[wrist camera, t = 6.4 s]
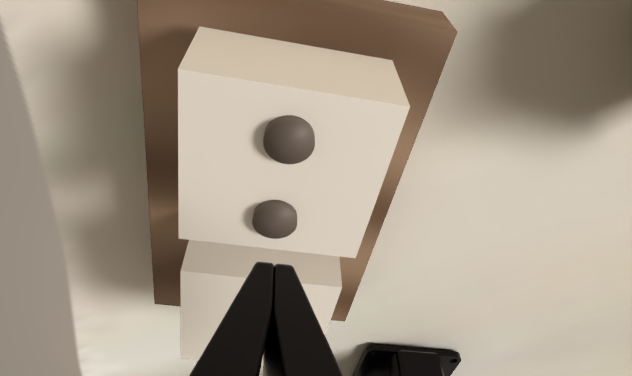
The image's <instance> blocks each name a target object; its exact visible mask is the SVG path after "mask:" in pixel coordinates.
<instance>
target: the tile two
mask: <svg viewBox="0 0 632 376" xmlns="http://www.w3.org/2000/svg"><path fill="white" fill-rule="evenodd" d="M409 108H410V105H409V102H408V99H407V97H406V94H405V92H404V89H403V86H402V84H401V81H400V79H399V76H398V74H397V71H396V68H395V66H394V63H393V61H392V60H388V59H382V58H377V57H371V56H365V55H360V54H354V53H348V52H343V51H337V50H331V49H326V48H320V47H314V46H308V45H303V44H297V43H291V42H286V41H280V40H274V39H269V38H263V37H257V36H252V35H246V34H240V33H235V32H229V31H223V30H217V29H212V28H206V27H200V26H199V28H198V30H197V32H196V34H195V36H194V38H193V40H192V42H191V44H190V46H189V48H188V50H187V52H186V54H185V56H184V58H183V60H182V62H181V64H180V66H179V68H178V229H179V239H187V240H196V241H205V242H214V243H223V244H232V245H241V246H250V247H259V248H268V249H277V250H285V251H294V252H303V253H312V254H321V255H330V256H339V257H348V258H356V256H357V253H358V250H359V247H360V245H361V242H362V239H363V236H364V234H365V231H366V228H367V225H368V222H369V220H370V217H371V214H372V211H373V209H374V206H375V203H376V200H377V197H378V195H379V192H380V189H381V186H382V184H383V181H384V178H385V175H386V172H387V170H388V167H389V164H390V161H391V158H392V156H393V153H394V150H395V147H396V145H397V142H398V139H399V136H400V133H401V131H402V128H403V125H404V122H405V120H406V117H407V114H408V111H409Z"/></svg>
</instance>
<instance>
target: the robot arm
mask: <svg viewBox="0 0 632 376" xmlns="http://www.w3.org/2000/svg"><path fill="white" fill-rule="evenodd" d="M262 359H263V376H343V374H342V372H341V370H340V368H339V366H338V363H337V361H336V359H335V357H334V355H333V352H332V350H331V348H330V346H329V344H328V341H327V339H326V337H325V335H324V333H323V330H322V328H321V326H320V324H319V322H318V319H317V317H316V315H315V313H314V311H313V308H312V306H311V304H310V302H309V300H308V297H307V295H306V293H305V291H304V289H303V287H302V284H301V282H300V280H299V278H298V276H297V273H296V271H295V269H294V267H293V266H292V265H287V264H275V266H274V264H273V263H268V262H256V263H255V265H254V266H253V268H252V270H251V271H250V273H249V275H248V277H247V278H246V280H245V282H244V283H243V285H242V287H241V288H240V290H239V292H238V294H237V295H236V297H235V299H234V300H233V302H232V304H231V306H230V307H229V309H228V311H227V312H226V314H225V316H224V318H223V319H222V321H221V323H220V324H219V326H218V328H217V330H216V331H215V333H214V335H213V336H212V338H211V340H210V342H209V343H208V345H207V347H206V348H205V350H204V352H203V354H202V355H201V357H200V359H199V360H198V362H197V364H196V366H195V367H194V369H193V371H192V372H191V374H190V376H259V373H260V368H261V363H262ZM460 362H461V358H460V354H459V353H458V352H456V351H445V350H434V349H422V348H410V347H398V346H387V345H369V346H367V347H366V348H365V351H364V353H363V355H362V357H361V359H360V361H359V363H358V366H357V368H356V370H355V372H354V374H353V376H450V375H451V374H452V373H453V371H454V370H455V368H456V367H457V366H458V364H459V363H460Z"/></svg>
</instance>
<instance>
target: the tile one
mask: <svg viewBox="0 0 632 376" xmlns="http://www.w3.org/2000/svg"><path fill="white" fill-rule="evenodd" d="M256 262H268V263H273V264H274V266H275V264H287V265H292V266H293V267H294V269H295V271H296V273H297V276H298V278H299V280H300V282H301V284H302V287H303V289H304V291H305V293H306V295H307V297H308V300H309V302H310V304H311V306H312V308H313V311H314V313H315V315H316V317H317V319H318V322H319V324H320V326H321V328H322V330H323V333H324V335H326V332H327V329H328V326H329V323H330V321H331V318H332V315H333V312H334V309H335V306H336V304H337V301H338V298H339V295H340V292H341V289H342V280H341V268H340V257H339V256H330V255H321V254H312V253H303V252H294V251H285V250H277V249H268V248H259V247H250V246H241V245H232V244H223V243H214V242H205V241H196V240H189V242H188V245H187V249H186V253H185V256H184V260H183V264H182V267H181V271H180V288H181V290H180V296H181V359H186V360H199V359H200V357H201V355H202V354H203V352H204V350H205V348H206V347H207V345H208V343H209V342H210V340H211V338H212V336H213V335H214V333H215V331H216V330H217V328H218V326H219V324H220V323H221V321H222V319H223V318H224V316H225V314H226V312H227V311H228V309H229V307H230V306H231V304H232V302H233V300H234V299H235V297H236V295H237V294H238V292H239V290H240V288H241V287H242V285H243V283H244V282H245V280H246V278H247V277H248V275H249V273H250V271H251V270H252V268H253V266H254V265H255V263H256ZM261 365H263V359H262V363H261Z"/></svg>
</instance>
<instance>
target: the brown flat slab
mask: <svg viewBox="0 0 632 376" xmlns="http://www.w3.org/2000/svg"><path fill="white" fill-rule="evenodd" d="M137 8H138V26H139V43H140V60H141V77H142V94H143V111H144V128H145V145H146V162H147V180H148V197H149V214H150V231H151V248H152V265H153V282H154V299H155V304H162V305H173V306H181V296H180V290H181V288H180V271H181V267H182V264H183V260H184V256H185V253H186V249H187V245H188V242H189V240H187V239H179V229H178V68H179V66H180V64H181V62H182V60H183V58H184V56H185V54H186V52H187V50H188V48H189V46H190V44H191V42H192V40H193V38H194V36H195V34H196V32H197V30H198V28H199V26H200V27H206V28H212V29H217V30H223V31H229V32H235V33H240V34H246V35H252V36H257V37H263V38H269V39H274V40H280V41H286V42H291V43H297V44H303V45H308V46H314V47H320V48H326V49H331V50H337V51H343V52H348V53H354V54H360V55H365V56H371V57H377V58H382V59H388V60H392V61H393V63H394V66H395V68H396V71H397V74H398V76H399V79H400V81H401V84H402V86H403V89H404V92H405V94H406V97H407V99H408V102H409V105H410V108H409V111H408V114H407V117H406V120H405V122H404V125H403V128H402V131H401V133H400V136H399V139H398V142H397V145H396V147H395V150H394V153H393V156H392V158H391V161H390V164H389V167H388V170H387V172H386V175H385V178H384V181H383V184H382V186H381V189H380V192H379V195H378V197H377V200H376V203H375V206H374V209H373V211H372V214H371V217H370V220H369V222H368V225H367V228H366V231H365V234H364V236H363V239H362V242H361V245H360V247H359V250H358V253H357V256H356V258H348V257H340V268H341V280H342V289H341V292H340V295H339V298H338V301H337V304H336V306H335V309H334V312H333V315H332V318H331V320H337V321H345V320H346V317H347V315H348V312H349V310H350V307H351V304H352V302H353V299H354V297H355V294H356V291H357V289H358V286H359V284H360V281H361V279H362V276H363V273H364V271H365V268H366V266H367V263H368V261H369V258H370V255H371V253H372V250H373V248H374V245H375V243H376V240H377V237H378V235H379V232H380V230H381V227H382V225H383V222H384V219H385V217H386V214H387V212H388V209H389V206H390V204H391V201H392V199H393V196H394V194H395V191H396V188H397V186H398V183H399V181H400V178H401V176H402V173H403V170H404V168H405V165H406V163H407V160H408V158H409V155H410V152H411V150H412V147H413V145H414V142H415V139H416V137H417V134H418V132H419V129H420V127H421V124H422V121H423V119H424V116H425V114H426V111H427V109H428V106H429V103H430V101H431V98H432V96H433V93H434V91H435V88H436V85H437V83H438V80H439V78H440V75H441V72H442V70H443V67H444V65H445V62H446V60H447V57H448V54H449V52H450V49H451V47H452V44H453V42H454V39H455V36H456V34H457V31H456V29H455V28H454V27H453V25H452V24H451V23H450V21H449V20H448V19H447V18H446V16H445V15H444V14H443V12H441V11H436V10H431V9H425V8H420V7H415V6H410V5H405V4H400V3H395V2H389V1H384V0H137Z"/></svg>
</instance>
